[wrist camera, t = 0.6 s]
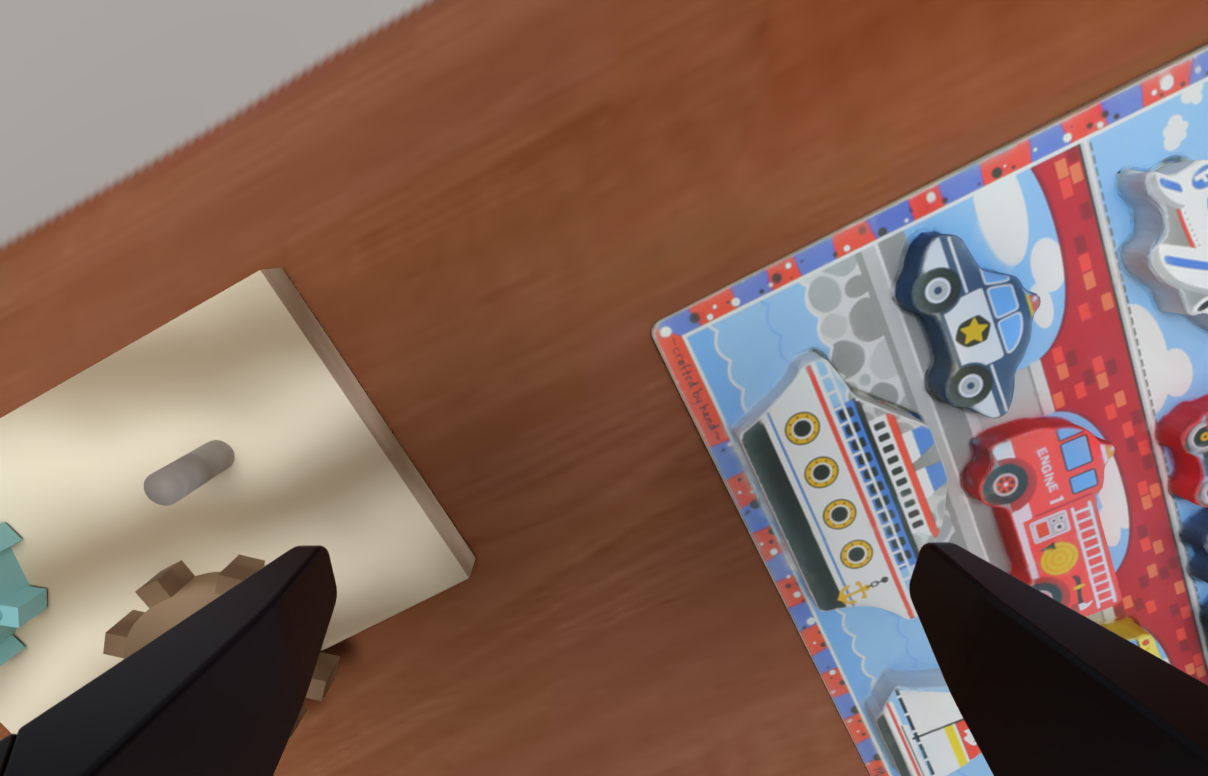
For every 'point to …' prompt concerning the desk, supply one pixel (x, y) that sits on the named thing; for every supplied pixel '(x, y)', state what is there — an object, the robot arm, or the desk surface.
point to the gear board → (207, 490)
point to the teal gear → (15, 596)
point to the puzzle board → (978, 404)
